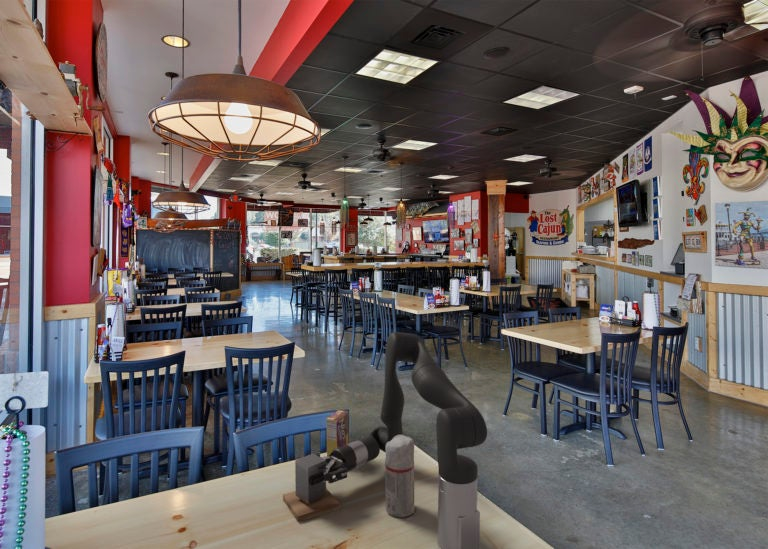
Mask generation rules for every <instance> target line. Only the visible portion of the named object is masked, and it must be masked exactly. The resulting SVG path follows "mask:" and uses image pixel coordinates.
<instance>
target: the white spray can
mask: <svg viewBox="0 0 768 549" xmlns="http://www.w3.org/2000/svg"><path fill="white" fill-rule="evenodd" d="M385 449H386V453H385V460H384V470H385V473H384V476H385V477H384V478H385V511H386V513H387V514H388V515H390V516H392V517H394V518H395V517H396V518H406V517H409V516H411V515H413V514H414V513H415V512H416V508H415V440H414V439H413V438H412V437H410V436H406V435H405V434H403V435H397V436H395V437H394V438H393V439H392V440H391V441H389V442H387V444H386V447H385Z"/></svg>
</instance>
